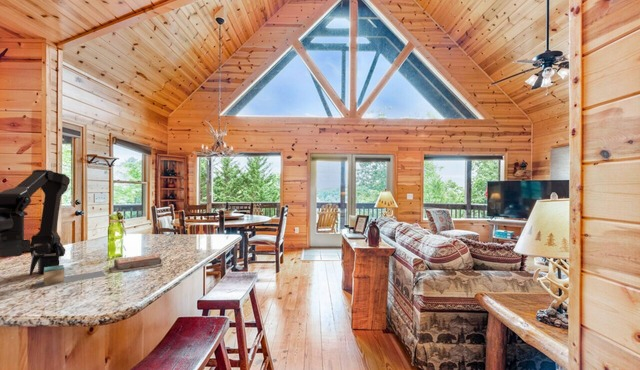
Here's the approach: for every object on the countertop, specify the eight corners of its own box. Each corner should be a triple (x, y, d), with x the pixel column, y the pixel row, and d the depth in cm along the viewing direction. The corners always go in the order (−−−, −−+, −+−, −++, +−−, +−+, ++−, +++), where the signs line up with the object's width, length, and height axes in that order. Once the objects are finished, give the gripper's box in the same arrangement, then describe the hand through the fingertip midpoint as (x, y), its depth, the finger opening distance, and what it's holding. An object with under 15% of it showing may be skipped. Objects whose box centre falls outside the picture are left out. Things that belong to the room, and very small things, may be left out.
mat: (36, 289, 98) (36, 287, 98) (35, 282, 104) (35, 281, 104) (106, 276, 111) (106, 275, 111) (101, 271, 118) (101, 270, 118)
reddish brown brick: (157, 251, 134) (163, 256, 127) (157, 262, 134) (162, 267, 127) (109, 257, 122) (112, 262, 115) (109, 269, 122) (112, 275, 115)
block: (44, 285, 100) (44, 270, 100) (43, 281, 104) (43, 267, 104) (64, 281, 104) (64, 267, 104) (62, 278, 107) (62, 264, 107)
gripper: (-36, 237, 84) (-37, 291, 84) (52, 230, 98) (51, 277, 98) (-32, 232, 92) (-33, 282, 92) (49, 226, 105) (48, 270, 105)
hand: (11, 278), depth 96 cm, fingers open, 9 cm apart
